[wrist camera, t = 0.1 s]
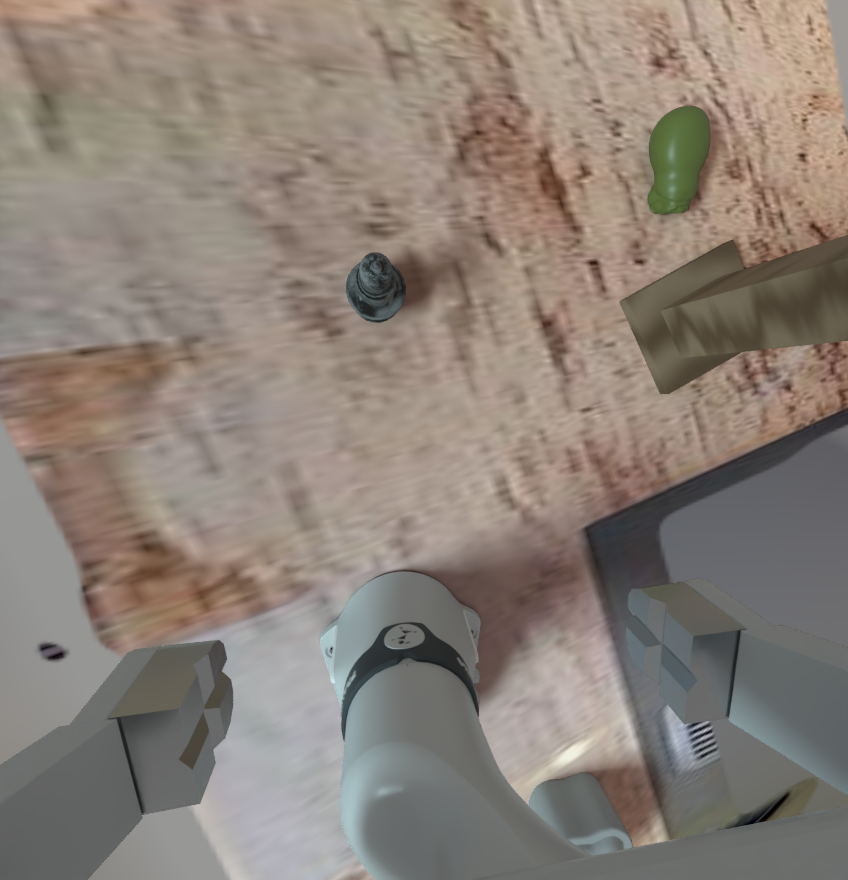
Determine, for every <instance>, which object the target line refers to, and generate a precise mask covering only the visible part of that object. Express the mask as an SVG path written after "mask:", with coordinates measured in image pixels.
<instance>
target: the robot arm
mask: <svg viewBox="0 0 848 880" xmlns="http://www.w3.org/2000/svg"><path fill="white" fill-rule="evenodd" d="M628 608H629V610H630V611H631V612H632V613H633V615H634V616H633V617H632V619H631V620H630V622H629V623H628V624H627V626H626V642H627V646H628V649H629V653H630V656H631V658H632V659H633V661H634V663H635V665H636V666H637V668H638V669H639V670H640V671H641V673H642V674H643V675H644V676H646V677H647V678H649V679H651V680H653V681H655V682H657V683H659V695H660V696H661V697H662V698H663V699H664V700H665V702H666V703H667V704H668V705H669V706H670V708H671V709H672V710H673V711H674V712H675V714H676V715H677V716H678V717H679V718H680V720H681V721H682V722H683V723H684V724H689V723H696V722H704V721H712V720H719V719H727V718H729V721H730V722H732V723H733V724H735V725H736V726H738V727H739V728H741V729H743V730H744V731H746V732H747V733H749V734H751V735H752V736H754V737H755V738H757V739H758V740H760V741H762V742H763V743H765V744H766V745H768V746H770V747H771V748H773V749H774V750H776V751H778V752H779V753H781V754H782V755H784V756H785V757H787V758H789V759H790V760H792V761H793V762H795V763H797V764H798V765H800V766H801V767H803V768H805V769H806V770H808V771H809V772H811V773H813V774H814V775H816V776H817V777H819V778H820V779H822V780H824V781H825V782H827V783H828V784H830V785H832V786H833V787H835V788H836V789H838V790H840V791H841V792H843V793H844V794H846V795H847V796H848V647H846V646H843V645H840V644H837V643H834V642H831V641H828V640H825V639H822V638H819V637H816V636H813V635H810V634H807V633H804V632H801V631H798V630H795V629H792V628H789V627H786V626H783V625H778V626H774V625H772V624H771V623H769V622H768V621H766V620H765V619H763V618H762V617H760V616H759V615H757V614H756V613H755V612H753V611H752V610H750V609H749V608H747V607H746V606H744V605H743V604H742V603H740V602H739V601H737V600H736V599H734V598H733V597H731V596H730V595H728V594H727V593H726V592H724V591H723V590H721V589H720V588H718V587H717V586H715V585H714V584H713V583H711V582H710V581H707V580H704V579H693V580H687V581H681V582H677V583H672V584H664V585H657V586H650V587H642V588H635V589H632V590H631V592H630V594H629V596H628ZM480 627H481V621H480V617H479V615H478V613H477V612H475V611H474V610H472V609H471V608H469V607H467V606H465V605H463V604H460V603H459V602H458V601H457V600H456V599H455V598H454V596H453V595H452V594H451V593H450V591H449V590H448V589H447V588H446V587H445V586H444V585H442V584H441V583H440V582H438V581H437V580H435V579H433V578H431V577H429V576H426V575H424V574H420V573H416V572H394V573H389V574H385V575H382V576H379V577H377V578H375V579H373V580H371V581H370V582H368V583H366V584H365V585H364V586H362V587H361V588H360V589H359V590H358V591H357V592H356V593H355V594H354V595H353V596H352V598H351V599H350V601H349V602H348V604H347V605H346V607H345V609H344V611H343V612H342V614H341V615H340V617H339V618H338V619H337V620H335V621H334V622H333V623H331V624H330V625H329V626H328V627H326V628H325V629H324V630H323V632H322V633H321V636H320V646H321V649H322V652H323V655H324V658H325V661H326V664H327V667H328V670H329V673H330V676H331V682H332V683H333V685H334V688H335V692H336V695H337V698H338V701H339V704H340V707H341V717H342V723H341V727H342V734H343V739H344V753H343V765H342V776H341V787H340V800H339V807H340V816H341V823H342V826H343V830H344V833H345V836H346V838H347V841H348V843H349V845H350V847H351V849H352V850H353V852H354V853H355V855H356V857H357V858H358V859H359V861H360V862H361V864H362V865H363V866H364V868H365V869H366V870H367V871H368V873H369V874H370V875H371V876H372V877H373V878H374V879H375V880H848V806H844V807H839V808H833V809H828V810H823V811H818V812H814V813H808V814H803V815H798V816H792V817H787V818H782V819H777V820H772V821H767V822H762V823H757V824H752V825H746V826H741V827H736V828H731V829H726V830H721V831H716V832H711V833H706V834H701V835H695V836H690V837H685V838H680V839H675V840H670V841H665V842H660V843H655V844H649V845H644V846H639V847H634V848H629V849H624V850H619V851H614V852H609V853H604V854H599V855H594V856H592V855H590V854H588V853H587V852H585V851H584V850H582V849H580V848H579V847H577V846H576V845H575V844H573V843H572V842H571V841H569V840H568V839H566V838H565V837H564V836H562V835H561V834H560V833H559V832H557V831H556V830H555V829H554V828H553V827H551V826H550V825H549V824H548V823H547V822H545V821H544V820H543V819H542V818H541V817H540V816H539V815H538V814H537V813H536V812H535V811H533V810H532V809H531V808H530V807H529V806H528V805H527V803H526V802H525V801H524V800H523V799H522V798H521V797H520V796H519V795H518V794H517V793H516V792H515V790H514V789H513V788H512V787H511V786H510V784H509V783H508V781H507V780H506V779H505V777H504V776H503V774H502V773H501V771H500V769H499V767H498V765H497V763H496V761H495V759H494V756H493V754H492V752H491V749H490V747H489V745H488V742H487V739H486V737H485V734H484V732H483V729H482V726H481V724H480V721H479V696H478V692H477V690H476V688H475V685H474V683H475V684H476V683H479V681H480V674H479V670H478V669H476V664H477V663H478V662H479V656H478V652H477V647H478V640H479V634H480ZM471 630H472V631H471ZM331 647H333V650H331V649H330V648H331ZM226 661H227V656H226V651H225V647H224V644H223V643H222V642H221V641H220V640H214V641H204V642H194V643H185V644H175V645H165V646H157V647H149V648H141V649H135V650H133V651H131V652H128V653H127V654H126V655H125V657H124V658H123V659H122V660H121V662H120V663H119V664H118V665H117V667H116V668H115V669H114V670H113V671H112V673H111V674H110V675H109V676H108V678H107V679H106V680H105V681H104V683H103V684H102V685H101V686H100V688H99V689H98V690H97V691H96V693H95V694H94V695H93V696H92V698H91V699H90V700H89V701H88V703H87V704H86V705H85V706H84V707H83V709H82V710H81V711H80V713H79V714H78V715H77V717H75V719H74V720H73V721H72V722H71V724H70V725H68V726H61V727H58V728H56V729H55V730H53V731H52V732H50V733H48V734H47V735H45V736H44V737H42V738H41V739H39V740H38V741H37V742H35V743H33V744H32V745H30V746H28V747H27V748H25V749H24V750H22V751H21V752H19V753H18V754H16V755H15V756H13V757H12V758H10V759H9V760H7V761H6V762H4V763H2V764H1V765H0V880H88V879H89V877H90V876H91V875H92V874H93V873H94V872H95V871H96V870H97V868H98V867H99V866H100V865H101V864H102V863H103V862H104V861H105V860H106V859H107V857H108V856H109V855H110V854H111V853H112V852H113V851H114V850H115V849H116V847H117V846H118V845H119V844H120V843H121V842H122V841H123V839H124V838H125V837H126V836H127V835H128V834H129V833H130V832H131V831H132V830H133V829H134V827H135V826H136V825H137V824H138V823H139V822H140V821H141V819H142V815H144V814H149V813H154V812H159V811H165V810H170V809H175V808H180V807H185V806H190V805H195V804H200V803H201V800H202V797H203V795H204V792H205V789H206V787H207V784H208V782H209V779H210V776H211V774H212V771H213V768H214V766H215V763H216V762H215V757H214V752H213V749H214V748H215V747H216V746H217V745H218V744H219V743H220V742H221V741H222V740H223V739H224V738H225V736H226V734H227V731H228V728H229V725H230V721H231V715H232V709H233V688H232V682H231V679H230V678H229V677H228V676H227V675H225V674H224V673H223V672H222V669H223V667H224V665H225V663H226Z"/></svg>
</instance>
